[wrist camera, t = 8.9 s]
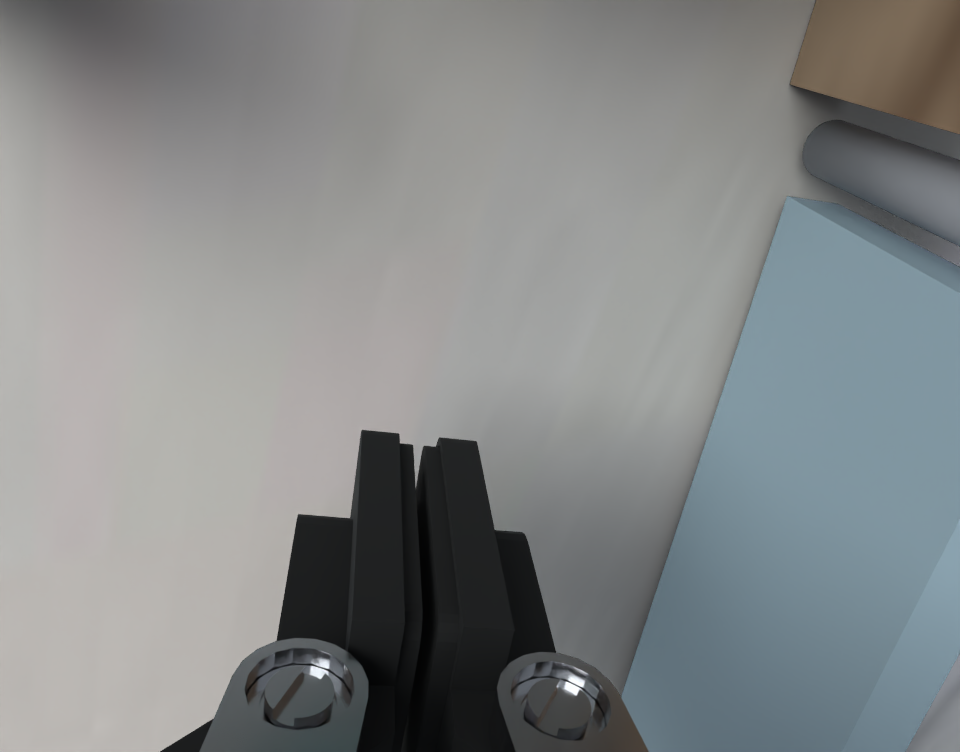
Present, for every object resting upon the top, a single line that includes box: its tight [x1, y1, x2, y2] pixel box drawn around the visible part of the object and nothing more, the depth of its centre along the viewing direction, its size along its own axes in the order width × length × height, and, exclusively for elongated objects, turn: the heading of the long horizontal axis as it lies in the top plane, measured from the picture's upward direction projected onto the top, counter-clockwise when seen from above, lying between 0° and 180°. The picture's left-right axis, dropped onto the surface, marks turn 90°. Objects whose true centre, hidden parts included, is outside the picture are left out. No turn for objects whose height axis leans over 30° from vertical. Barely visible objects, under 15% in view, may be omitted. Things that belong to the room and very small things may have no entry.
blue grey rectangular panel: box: [621, 120, 960, 752], centre depth 15 cm, size 1×15×6 cm, turn 170°
